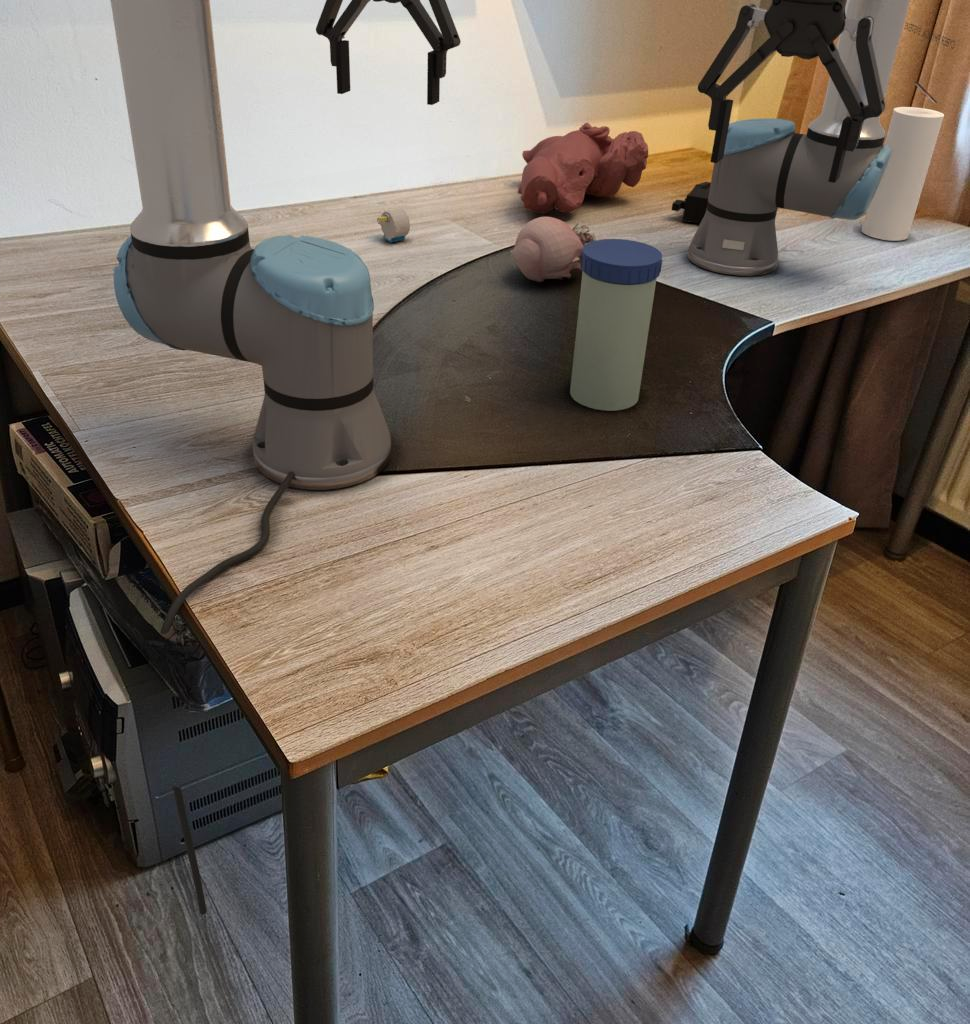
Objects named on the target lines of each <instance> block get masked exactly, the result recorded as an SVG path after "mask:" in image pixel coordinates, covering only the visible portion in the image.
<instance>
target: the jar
mask: <svg viewBox="0 0 970 1024" xmlns="http://www.w3.org/2000/svg"><path fill="white" fill-rule="evenodd" d="M656 284H657V278H656V279H654V280H652V281H649V282H645V283H638V284H620V283H612V282H606V281H602V280H599V279H596V278H593V277H591V276H589V275H587V274H586V273H584V272H583V271H582V273H581V283H580V290H579V291H580V292H579V301H578V302H579V303H578V311H577V319H576V320H577V321H576V322H577V323H576V332H575V339H574V348H573V349H574V350H573V357H572V358H573V359H572V369H571V378H570V387H569V388H570V389H569V395H570V396H571V398H572V399H573V401H575V402H576V403H578V404H580V405H581V406H583V407H586V408H589V409H593V410H597V411H606V412H608V411H609V412H612V411H613V412H615V411H622V410H623V411H624V410H626V409H630V408H632V407H633V406H635V405H636V404H637V403H638V402H639V398H640V390H641V385H642V378H643V371H644V364H645V358H646V351H647V345H648V338H649V331H650V324H651V319H652V312H653V311H652V310H653V306H654V305H653V304H654V298H655V291H656Z"/></svg>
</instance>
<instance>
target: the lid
mask: <svg viewBox="0 0 970 1024" xmlns="http://www.w3.org/2000/svg"><path fill="white" fill-rule="evenodd" d="M579 262H580V265H581V269H582V270H581V271H582V272H584V273H586V274H587V275H589V276H591V277H593V278H596V279H599V280H602V281H606V282H612V283H620V284H638V283H645V282H649V281H652V280H654V279H656V280H657V278H658V277H660V273H662V266H663V253H662V252H661V250H659V249H658V248H656V247H655V246H652V245H650V244H647V243H646V242H645V243H644V242H642V241H637V240H632V239H623V238H601V239H596V241H592V242H589V243H587V244H586V245H584V246H583V249H582V252H581V259H580V261H579Z"/></svg>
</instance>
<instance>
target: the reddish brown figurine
mask: <svg viewBox="0 0 970 1024" xmlns="http://www.w3.org/2000/svg"><path fill="white" fill-rule="evenodd" d="M610 130H611V129H610V127H608V126H607V125H605V126H604V125H602V126H600V127H598V126H592V125H591V124H590V123H589V122H585V123H584V124H581V126H580V127H579V129H576V130H573V131H570V132H568V133H566V134H565V135H554V136H549V137H546V138H544V139H542V140H540V141H539V142H538V143H536V145H535V146H534V147H532V148H531V149H529V150H523V151H522V153H521V156H522V158H523V160H524V162H525V163H526V164H525V166H524V168H523V170H522V172H521V173H522V174H521V180H520V181H521V182H520V185H519V186H518V189H517V194H518V195H520V200H521V202H522V203H523V207H524V209H525V210H529V211H530V212H532V213H535V214H546V213H549V212H551V211H552V210H553V209H554V208H555V209H556V210H557V211H559V212H560V213H564V214H569V213H573V212H575V211H578V209H579V208H581V206H582V203H584V199H585V195H591V196H593V197H596V198H599V197H604V198H606V197H608V198H610V197H613V196H614V195H617V194H618V192H619V191H620V189H621V186H622V184H624V185H625V186H627V187H631V188H635V187H636V186H637V185H638V184H639V183H640V181H641V178H642V174H643V171H645V170H646V169H647V164H648V161H647V160H648V157H649V146H648V143H647V142H646V141H645V139H644V135H643V134H642V132H638V131H636V130H631V131H628V132H627V131H624V132H621V133H618V135H617V136H615V137H614V138H612V137H611V136H610V135H609V134H610Z"/></svg>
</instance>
